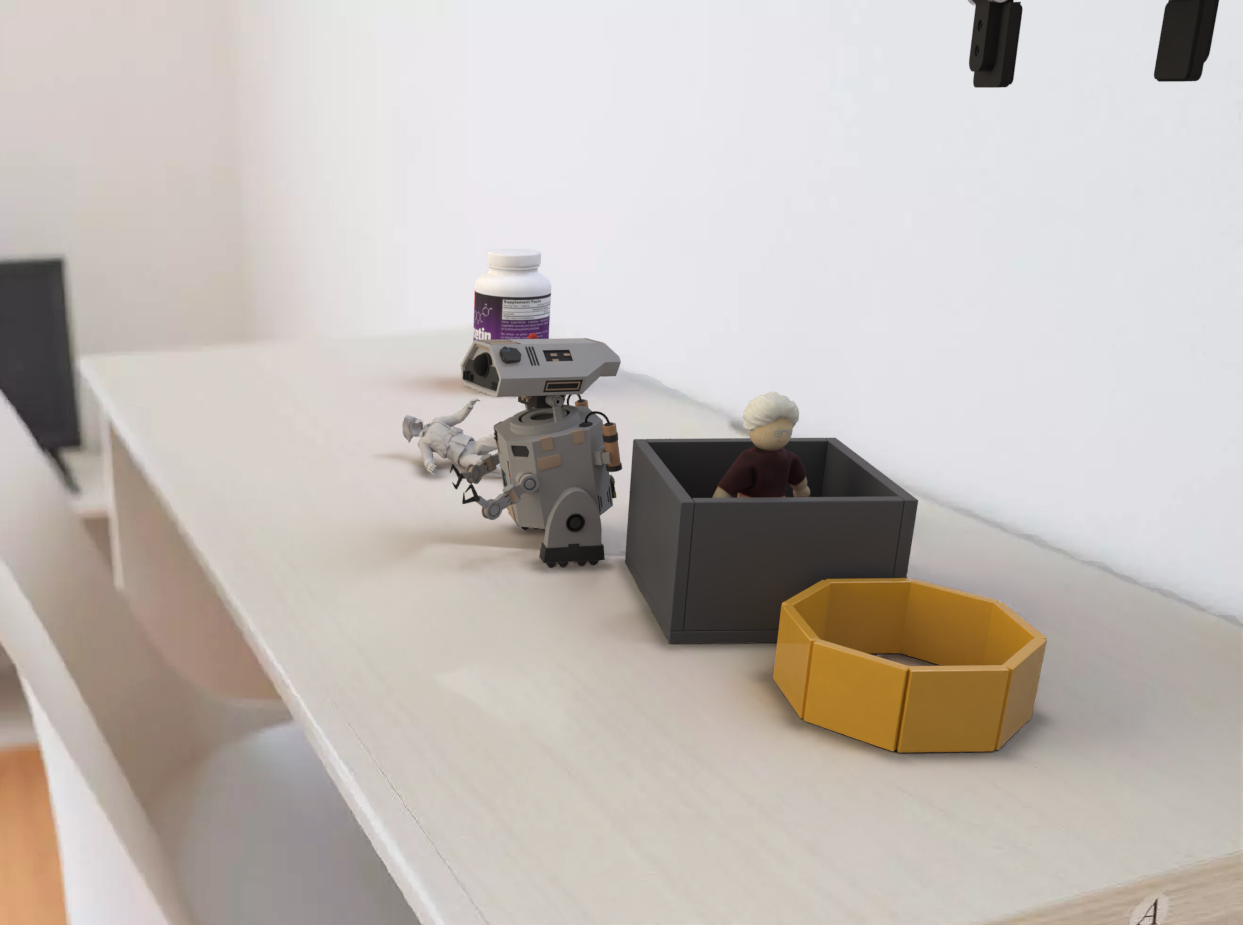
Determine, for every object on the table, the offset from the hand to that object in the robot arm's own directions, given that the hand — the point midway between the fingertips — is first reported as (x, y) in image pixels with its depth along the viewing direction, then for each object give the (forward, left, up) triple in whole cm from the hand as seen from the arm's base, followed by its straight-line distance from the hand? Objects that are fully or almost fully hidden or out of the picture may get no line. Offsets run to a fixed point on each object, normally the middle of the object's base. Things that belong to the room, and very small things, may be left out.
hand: (1084, 84), depth 67 cm
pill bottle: (+22, -65, -31) cm, 75 cm away
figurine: (+26, -15, -31) cm, 43 cm away
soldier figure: (+29, -35, -31) cm, 55 cm away
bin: (+13, -5, -31) cm, 34 cm away
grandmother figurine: (+13, -5, -30) cm, 33 cm away
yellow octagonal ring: (+9, +9, -31) cm, 34 cm away
